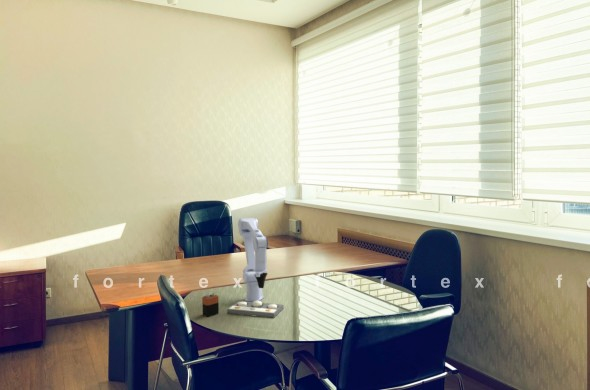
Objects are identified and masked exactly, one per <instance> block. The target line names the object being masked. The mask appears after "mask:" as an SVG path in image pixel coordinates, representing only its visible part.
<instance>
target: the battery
mask: <svg viewBox="0 0 590 390" xmlns="http://www.w3.org/2000/svg"><path fill="white" fill-rule="evenodd" d="M219 301H220V300H219V295H217V294H216V293H214V292H213V293H211V294H209V293H208V294H205V295H204V296H202V301H201V302H202V303H201V305H202V306H201V307H202V316H205V317H208V318H209V317H213V316H216V315H218V314H220V311H219V310H220V309H219V307H220V306H219Z"/></svg>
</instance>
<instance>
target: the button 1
mask: <svg viewBox="0 0 590 390" xmlns="http://www.w3.org/2000/svg"><path fill="white" fill-rule="evenodd" d="M247 302H248V301H245V302H239V303H238V306H246V305H247Z"/></svg>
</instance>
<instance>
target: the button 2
mask: <svg viewBox="0 0 590 390" xmlns="http://www.w3.org/2000/svg"><path fill="white" fill-rule="evenodd" d="M262 303H263V302H262V301H261V300H260V301H254V302H253V307H257V308H261V307H262Z"/></svg>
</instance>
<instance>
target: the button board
mask: <svg viewBox="0 0 590 390" xmlns="http://www.w3.org/2000/svg"><path fill="white" fill-rule="evenodd" d="M239 302H247V305H246V306H238V303H239ZM270 304H271V303H266V302H262V307H261V308H257V307H253V302H249V301H244V300H238V301H237V302H235V303H234V304H233V305H231V306H229V308H227V314H230V313H231V314H232V315H241V314H244V315H243V316H251V315H256V316H255V317H262V316H263V317H264V318H273V319H274V318H275V317H277V316H278V315H279V314H280V313H281V312H282V311H283V310H284V304H277V303H274V304H275V305H277V309H268V305H270ZM263 317H262V318H263Z"/></svg>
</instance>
